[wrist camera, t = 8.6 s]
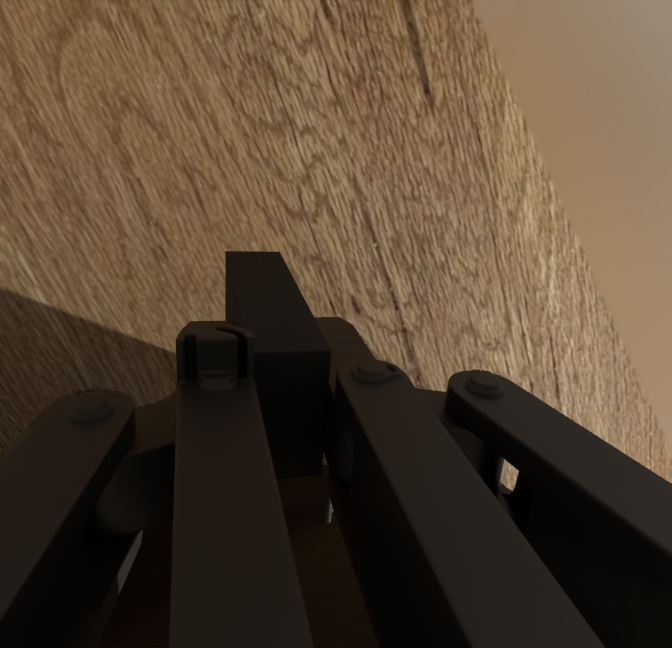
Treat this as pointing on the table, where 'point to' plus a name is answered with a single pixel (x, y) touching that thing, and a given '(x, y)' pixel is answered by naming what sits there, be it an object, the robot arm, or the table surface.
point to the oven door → (311, 564)
